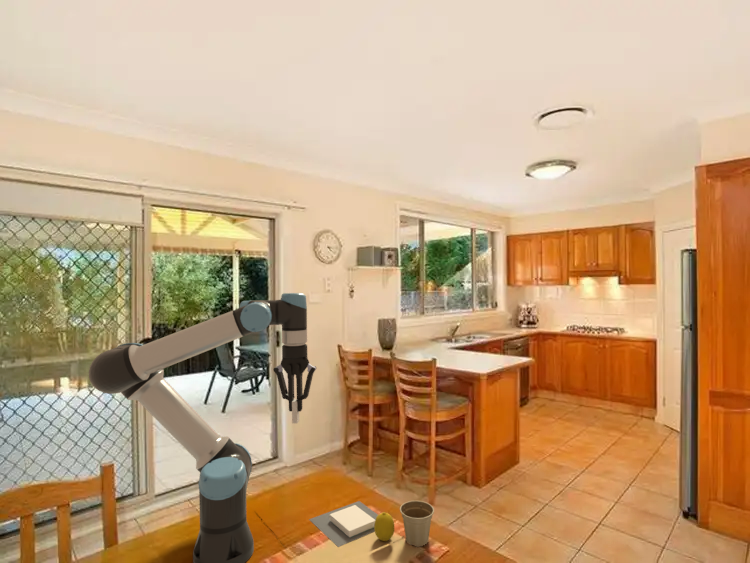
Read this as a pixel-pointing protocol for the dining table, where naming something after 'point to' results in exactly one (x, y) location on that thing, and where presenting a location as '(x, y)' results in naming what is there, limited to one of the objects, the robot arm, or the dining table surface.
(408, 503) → the flower pot
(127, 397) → the robot arm
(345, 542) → the mat
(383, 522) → the lemon
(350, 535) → the tile
